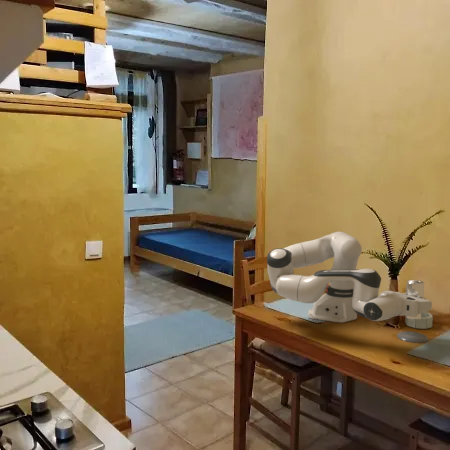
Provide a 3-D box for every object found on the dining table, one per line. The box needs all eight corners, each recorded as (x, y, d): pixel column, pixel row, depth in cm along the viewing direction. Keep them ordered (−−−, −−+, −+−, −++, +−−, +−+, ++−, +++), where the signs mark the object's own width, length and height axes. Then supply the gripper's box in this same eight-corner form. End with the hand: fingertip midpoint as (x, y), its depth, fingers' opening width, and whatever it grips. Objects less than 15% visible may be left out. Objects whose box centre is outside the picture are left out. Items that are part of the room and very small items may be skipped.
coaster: (399, 341, 202) (399, 340, 202) (395, 331, 214) (395, 330, 214) (430, 343, 200) (430, 343, 200) (425, 333, 211) (425, 332, 211)
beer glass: (417, 321, 200) (420, 284, 198) (401, 317, 205) (403, 281, 203) (425, 317, 205) (427, 281, 203) (409, 313, 210) (411, 278, 208)
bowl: (407, 328, 217) (408, 317, 216) (404, 320, 227) (404, 309, 227) (433, 330, 215) (434, 319, 214) (428, 322, 225) (429, 311, 224)
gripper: (373, 305, 205) (392, 299, 213) (419, 318, 189) (438, 310, 197) (373, 290, 204) (393, 284, 212) (420, 301, 188) (439, 295, 196)
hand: (415, 297), depth 204 cm, fingers closed on beer glass, 6 cm apart
